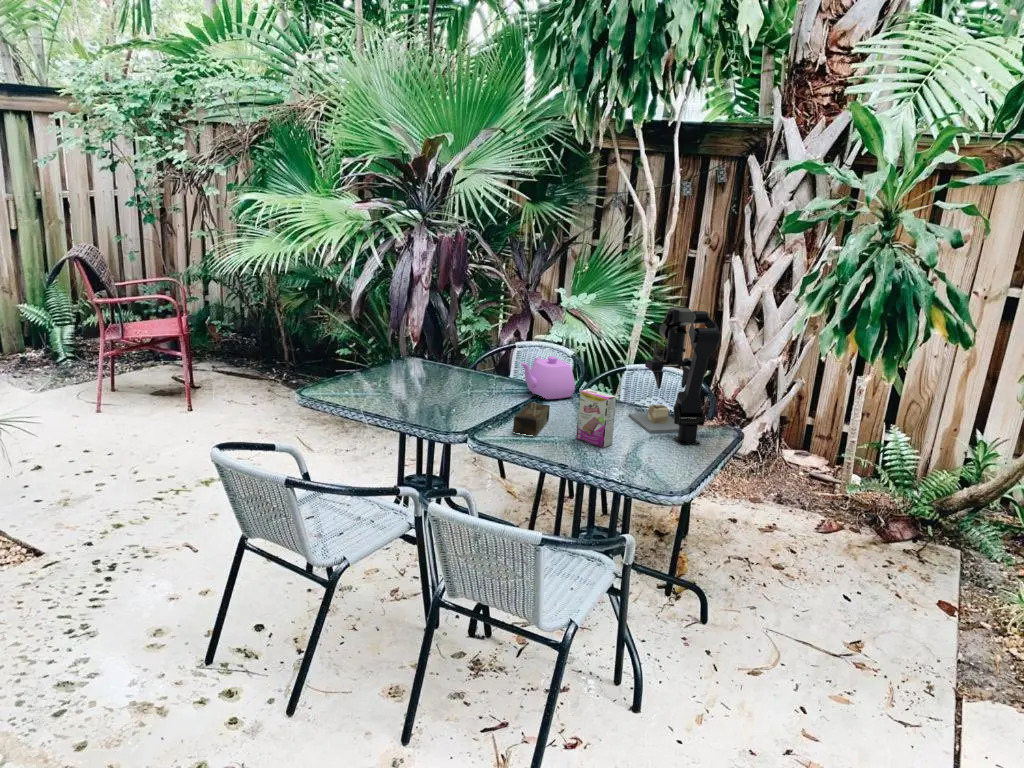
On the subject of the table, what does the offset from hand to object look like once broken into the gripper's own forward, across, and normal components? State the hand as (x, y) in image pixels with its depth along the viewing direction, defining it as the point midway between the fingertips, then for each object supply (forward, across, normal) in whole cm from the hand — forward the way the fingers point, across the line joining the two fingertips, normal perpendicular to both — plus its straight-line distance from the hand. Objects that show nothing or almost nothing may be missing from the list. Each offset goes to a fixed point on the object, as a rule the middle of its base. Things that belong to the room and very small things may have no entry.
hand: (670, 388), depth 262 cm
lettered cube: (+11, +5, +2) cm, 12 cm away
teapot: (+13, +31, -36) cm, 49 cm away
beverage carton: (+13, +50, -1) cm, 51 cm away
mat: (+12, +5, +2) cm, 13 cm away
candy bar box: (+12, +34, +16) cm, 40 cm away
